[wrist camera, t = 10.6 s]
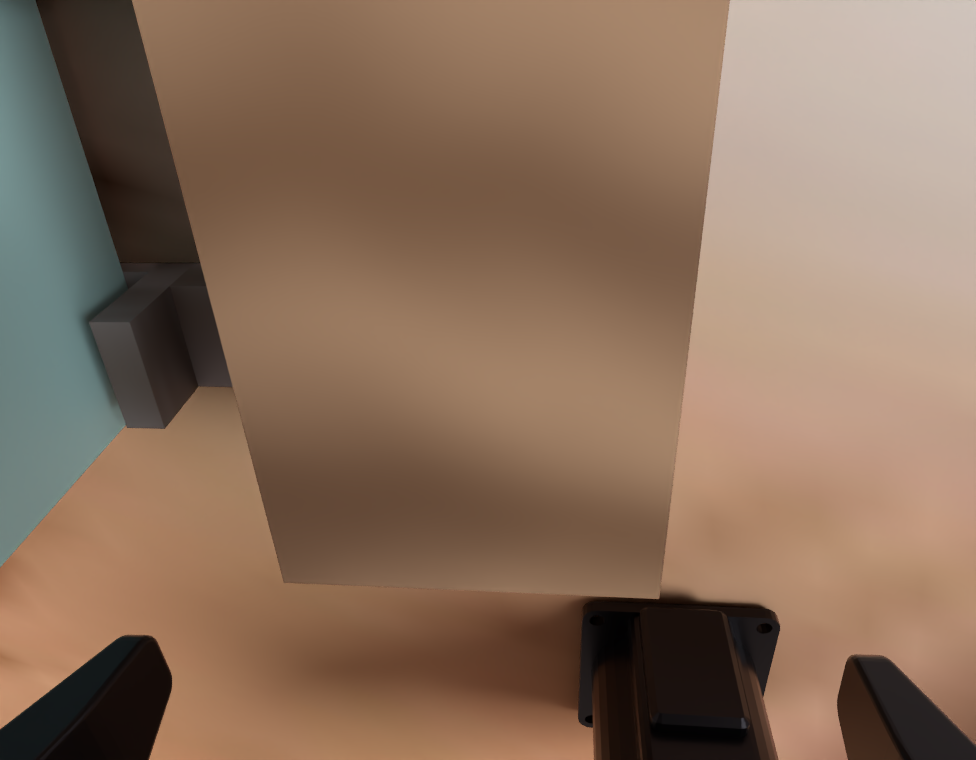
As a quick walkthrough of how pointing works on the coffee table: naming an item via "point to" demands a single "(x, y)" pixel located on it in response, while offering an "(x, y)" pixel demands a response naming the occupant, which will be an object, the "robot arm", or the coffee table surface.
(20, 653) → the coffee table surface
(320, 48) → the brown legged block
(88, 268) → the door
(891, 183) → the coffee table surface
